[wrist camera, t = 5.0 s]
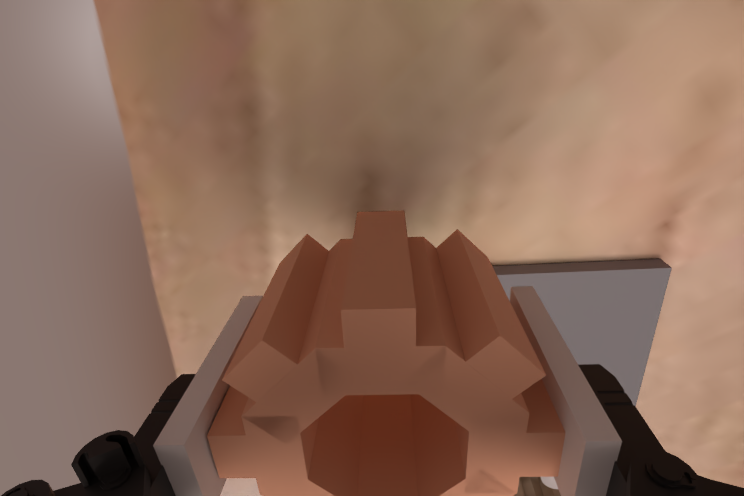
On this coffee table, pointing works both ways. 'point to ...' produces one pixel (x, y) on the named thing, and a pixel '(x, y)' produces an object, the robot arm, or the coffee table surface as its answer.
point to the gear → (534, 487)
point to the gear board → (600, 311)
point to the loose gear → (386, 375)
